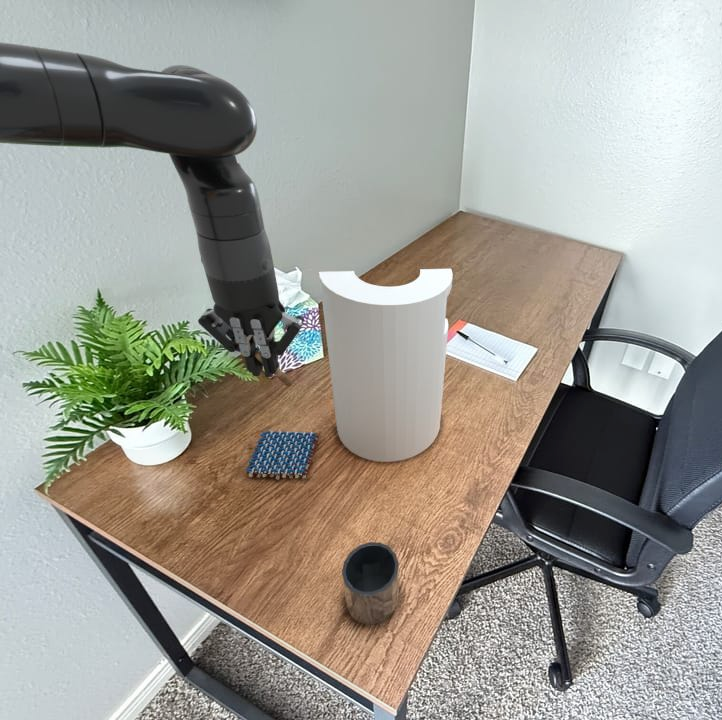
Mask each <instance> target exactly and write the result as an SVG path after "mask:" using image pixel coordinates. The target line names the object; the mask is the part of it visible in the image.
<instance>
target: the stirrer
mask: <svg viewBox="0 0 722 720" xmlns="http://www.w3.org/2000/svg"><path fill="white" fill-rule="evenodd" d="M255 358H256V359H257V360H259V361H260V362H261V363H262V359H261V358H262V355H261V350H260V351H257V352H256V353H255ZM262 364H263V363H262ZM273 376H275V377H276V378H277V379H278V380H279V381H280V382H281V383H282V384H283V385H285V386H286V387H291V386H293V380H292V379H291V378H290V377H289V376H288V375H287V374H286V373H285V372H284V371H282V369H280V367H278V369H277V371H276V373H275V374H273Z"/></svg>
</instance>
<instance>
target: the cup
mask: <svg viewBox="0 0 722 720" xmlns="http://www.w3.org/2000/svg"><path fill="white" fill-rule="evenodd" d="M399 573H400V564H399V560H398V555H397V553H396V552H395V551H394V550H393V549H392V548H391V547H390V546H389V545H387V544H384V543H382V542H376V541H375V542H373V541H369V542H365V543H363V544H360V545H358V546H357V547H355V548H353V550H350V552H349V553H348V555H347V556H346V558H345V560H344V561H343V565H342V571H341V577H342V583H343V589H344V596H345V603H346V607H347V611H348V613H349V615H350V616H351V618H352V619H353V620H354V621H356V622H358V623H359V624H363V625H367V626H368V625H369V626H371V625H377V624H379V623H382V622H384V621H385V620H387V619H388V618H389V617H390V616H391V615H392V614H393V612H394V611H395V610H396V607H397V605H398V601H399V592H400V591H399V587H400V584H399V583H400V581H399V580H400V574H399Z"/></svg>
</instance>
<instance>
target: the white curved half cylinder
mask: <svg viewBox="0 0 722 720" xmlns="http://www.w3.org/2000/svg"><path fill="white" fill-rule="evenodd" d="M453 275H454V274H453V270H452V268H423V269H422V268H421V269H419V275H418V277H417V278H416V279H415V280H413V281H411V282H409V283H405V284H402V285H394V286H384V285H377V284H376V285H375V284H373V283H368V282H366V281H363V280H362V279H361V278H359V277H358V276H357V275H356V273H355V271H354V270H339V271H337V270H336V271H335V270H333V271H318V276H319V277H318V278H319V285H320V295H321V302H322V310H323V319H324V320H323V321H324V328H325V337H326V345H327V346H326V347H327V355H328V362H329V371H330V380H331V389H332V397H333V399H332V400H333V406H334V413H335V414H334V416H335V423H336V424H335V425H336V432H337V435H338V437H339V440H340V441H341V443H342V444H343V446H344V447H345V448H346V449H348V451H350V452H351V453H352V454H355V455H356V456H358V457H360V458H363V459H366V460H369V461H373V462H382V463H384V462H385V463H389V462H391V463H393V462H399V461H405V460H407V459H410V458H413V457H415V456H417V455H419V454H421V453H423V452H424V451H425V450H426V449H428V448H429V447H431V445H432V444H433V443H434V442H435V440H436V438H437V437H438V434H439V432H440V429H441V417H442V405H443V395H444V382H445V373H446V371H445V370H446V357H447V348H448V347H447V345H448V337H449V336H448V334H449V320H448V318H446V316H447V305H448V304H447V303H448V297H449V295H450V293H451V290H452V288H453V287H452V285H453Z"/></svg>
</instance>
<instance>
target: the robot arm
mask: <svg viewBox="0 0 722 720" xmlns="http://www.w3.org/2000/svg"><path fill="white" fill-rule="evenodd" d="M257 131H258V120H257V116H256V112H255V110H254V107H253V106H252V104H251V103H250V101H249V99H248V98H247V97H246V95H244V93H242V91H241V90H240V89H238V87H236V86H235V85H234V84H232V83H230V82H229V81H227V80H225V79H223V78H221V77H219V76H216V75H213V74H212V73H211V74H210V72H209V73H208V72H206V71H204V70H202V69H199V68H196V67H194V66H190V65H187V64H186V65H185V64H184V65H183V64H176V65H171V66H168V67H166V68H163V69H162V70H161V71H159V70H158V71H156V70H149V69H140V68H134V67H130V66H126V65H123V64H119V63H118V62H114V61H112V60H108V59H105V58H103V57H98V56H93V55H89V54H84V53H79V52H71V51H65V50H58V49H51V48H45V47H37V46H30V45H24V44H17V43H8V42H1V41H0V144H9V145H27V146H28V145H29V146H46V147H73V148H74V147H75V148H76V147H77V148H103V149H104V148H105V149H107V148H108V149H109V148H111V149H112V148H129V149H138V150H144V151H149V152H153V153H154V152H155V153H161V154H167V155H169V157H170V159H171V162H172V164H173V166H174V168H175V171H176V172H177V174H178V176H179V179H180V181H181V183H182V185H183V188H184V190H185V193H186V198H187V204H188V207H189V210H190V214H191V215H190V216H191V217H192V221H193V225H194V228H195V232H196V238H197V245H198V251H199V256H200V261H201V264H202V267H203V269H204V273H205V276H206V280H207V283H208V287H209V290H210V295H211V298H212V300H213V302H214V304H213V308H207V309H206V310H205V311H204V312H203V313H202V314H201V316H200V317H199V318H198V320H197V322H198V325H199V326H201V327H202V328H203V329H204V330H205V331H206V332H207V333H208V334H209V335H210V336H211V337H212V338H214V340H216V341H217V343H219V344H220V345H221V346H222V347H224V349H226V351H228V352H230V353H235V352H239V353H240V354H241V355H242V356H243V357H244V361H245V365H246V369H247V371H248V372H249V373H251V375H252V377H260V376H261V374H262V372H264V376H265V377H266V378H272V377H273V376H274V374H275V373H276V371H277V369H278V368H279V366H280V363H279V358H278V356H281V357H282V356H283V355H284V353H285V352H286V351H287V349H288V348H289V346H290V345H291V344H292V342H293V341H294V339H295V338H296V336H297V335H298V334H299V332H300V330H301V328H302V327H303V324H304V322H305V318H304V317H303V316H301V315H296V316H295V317H294V316H293V315H291V314H289V313H288V312H286V308H285V306H284V305H283V304H282V302H281V300H280V294H279V293H280V292H279V287H278V282H277V277H276V271H275V266H274V260H273V255H272V254H273V253H272V250H271V244H270V241H269V237H268V235H267V231H266V228H265V223H264V217H263V213H262V207H261V201H260V196H259V193H258V190H257V187H256V185H255V182H254V180H252V178H251V176H249V174H248V173H246V171H245V170H244V169H243V167H242V165H241V163H240V160H239V157H238V155H240V154H242V153H244V152H245V151H246V150H248V149H249V147H250V146H251V145H252V144H253V142H254V141H255V138H256V137H257V136H256V135H257ZM280 322H281V323H282V327H281V328H282V330H283V334H282V336H281V338H280V339H279V340H276V337H275V332H276V330H275V328H276V327H277V326H278V324H279V323H280ZM257 346H259V347H257ZM257 351H261V355H262V358H261V359H262V363H263V364H262V363H261V362H260V361H259V360H257V359H256V358H255V353H256V352H257Z"/></svg>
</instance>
